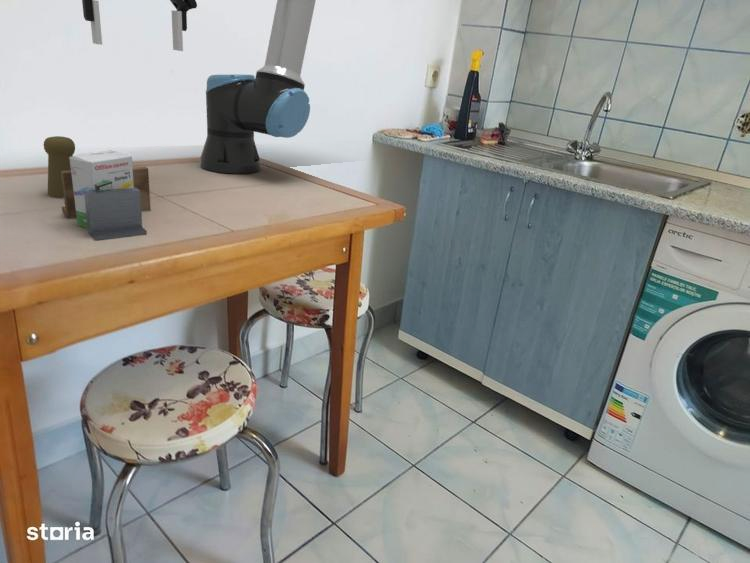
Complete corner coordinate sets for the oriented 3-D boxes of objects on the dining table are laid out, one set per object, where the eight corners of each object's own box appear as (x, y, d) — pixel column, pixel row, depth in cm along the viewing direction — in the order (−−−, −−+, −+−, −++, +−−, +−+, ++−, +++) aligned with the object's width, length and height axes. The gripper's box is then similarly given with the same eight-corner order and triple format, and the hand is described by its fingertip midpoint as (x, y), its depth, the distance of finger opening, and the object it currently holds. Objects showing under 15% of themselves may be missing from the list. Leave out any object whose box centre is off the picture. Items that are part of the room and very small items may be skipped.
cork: (74, 188, 110) (68, 133, 106) (88, 195, 107) (82, 139, 102) (42, 192, 106) (34, 134, 101) (55, 199, 102) (48, 140, 98)
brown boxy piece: (142, 204, 105) (140, 163, 102) (150, 210, 102) (148, 168, 99) (62, 211, 97) (56, 166, 93) (68, 218, 94) (62, 172, 90)
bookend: (138, 227, 93) (135, 187, 91) (146, 234, 91) (144, 193, 88) (88, 232, 89) (83, 191, 86) (95, 240, 86) (90, 197, 83)
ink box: (96, 231, 89) (89, 160, 85) (75, 225, 91) (67, 155, 87) (137, 220, 97) (133, 154, 92) (117, 214, 98) (112, 149, 94)
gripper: (196, -78, 96) (199, 51, 104) (34, -116, 80) (53, 39, 89) (214, -82, 91) (216, 54, 99) (46, -123, 75) (65, 42, 84)
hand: (139, 47), depth 94 cm, fingers open, 13 cm apart
